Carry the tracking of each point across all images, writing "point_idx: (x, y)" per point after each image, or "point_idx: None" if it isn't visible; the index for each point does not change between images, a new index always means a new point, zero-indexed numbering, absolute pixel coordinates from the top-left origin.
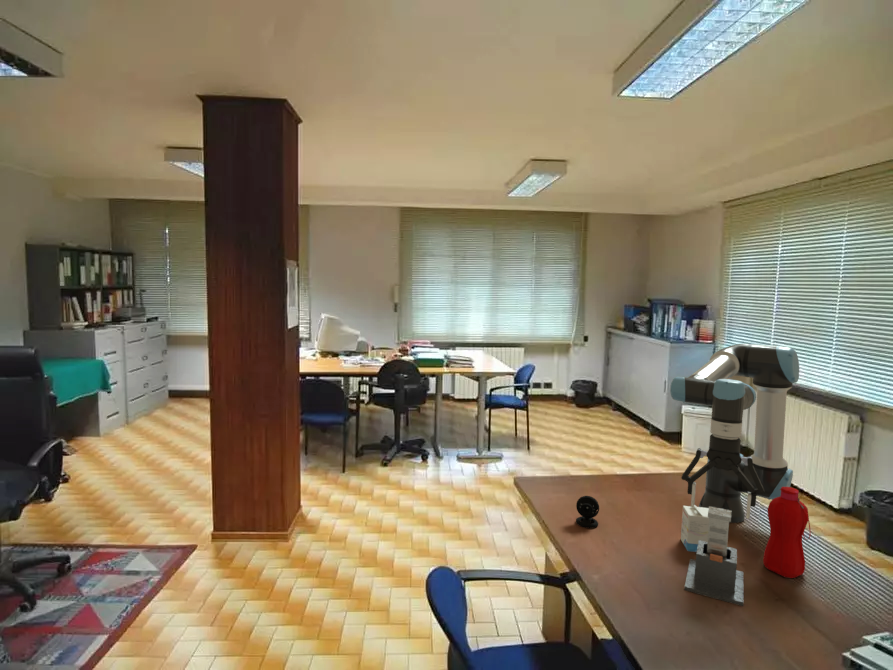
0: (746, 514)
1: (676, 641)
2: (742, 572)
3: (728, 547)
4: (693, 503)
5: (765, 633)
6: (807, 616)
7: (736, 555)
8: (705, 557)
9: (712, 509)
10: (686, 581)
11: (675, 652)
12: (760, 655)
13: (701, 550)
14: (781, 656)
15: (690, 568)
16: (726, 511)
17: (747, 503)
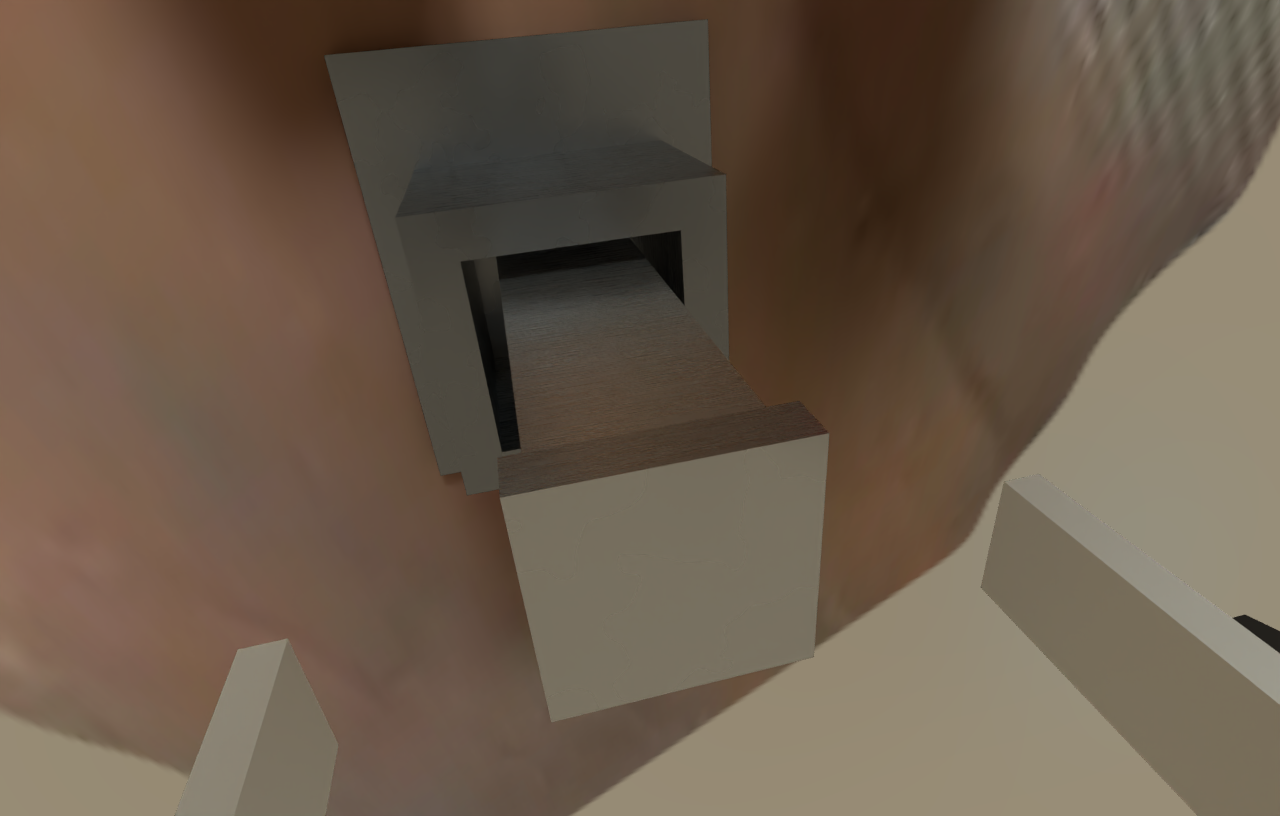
0: (1016, 610)
1: (532, 763)
2: (702, 36)
3: (658, 194)
4: (319, 810)
5: None
6: (966, 302)
7: (725, 315)
8: None
9: (576, 584)
10: (430, 420)
11: (544, 799)
12: None
13: (482, 415)
14: (824, 620)
15: (389, 236)
16: (762, 514)
17: (1155, 770)
